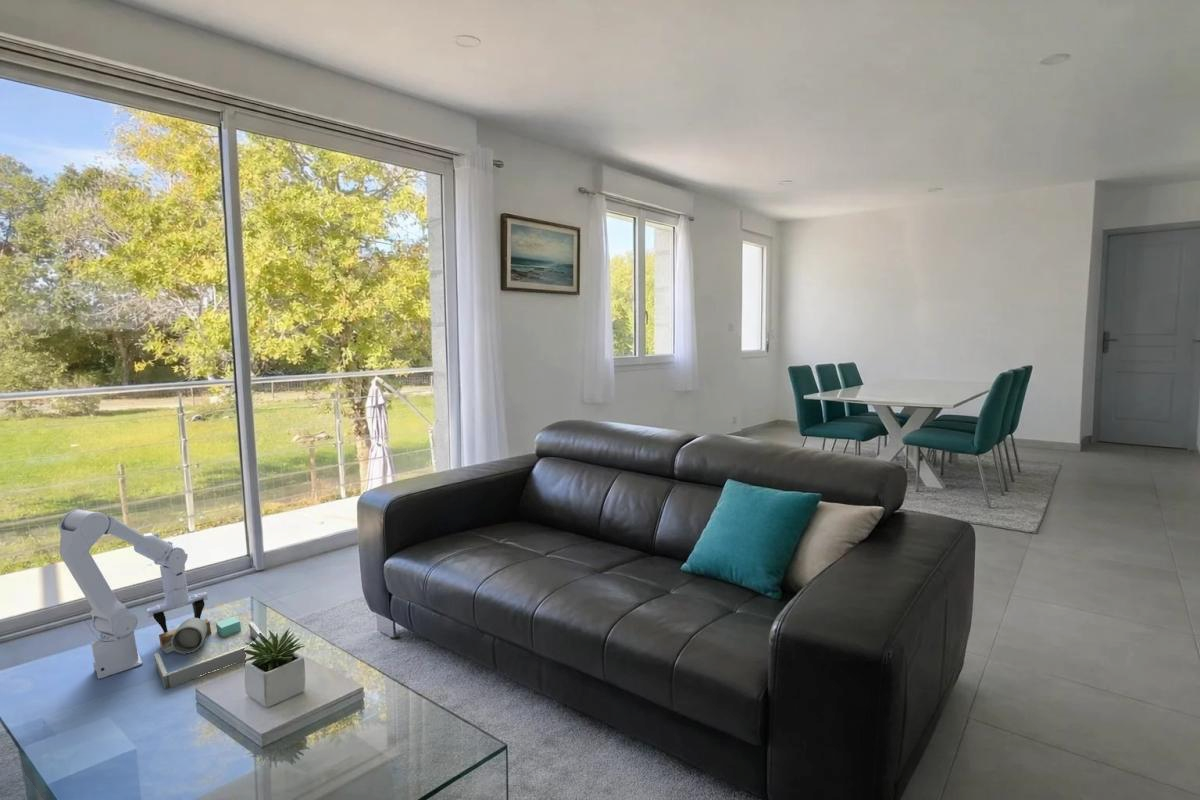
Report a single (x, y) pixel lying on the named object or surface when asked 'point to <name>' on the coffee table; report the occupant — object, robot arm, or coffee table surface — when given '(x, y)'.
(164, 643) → the brown wooden block
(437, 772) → the coffee table surface
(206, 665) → the frame
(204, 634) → the ceramic mug
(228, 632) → the turquoise cube box
